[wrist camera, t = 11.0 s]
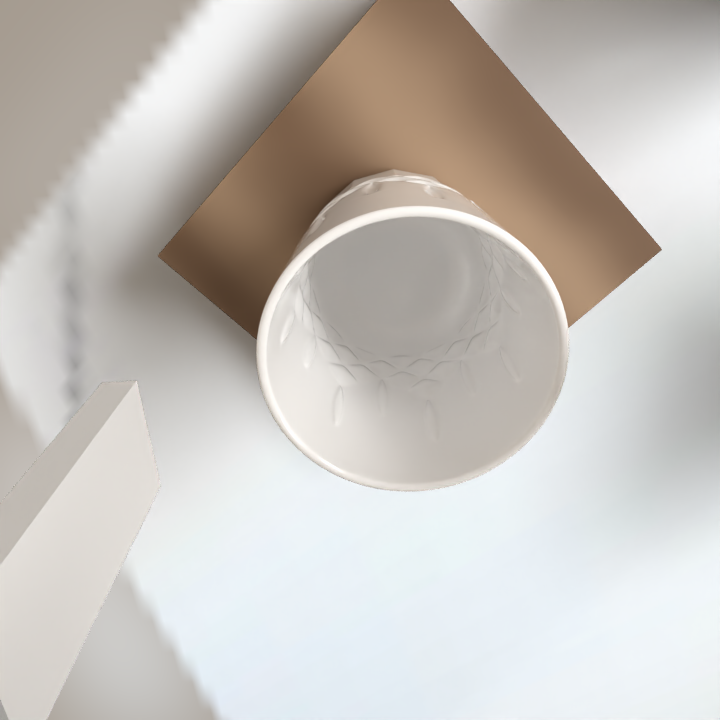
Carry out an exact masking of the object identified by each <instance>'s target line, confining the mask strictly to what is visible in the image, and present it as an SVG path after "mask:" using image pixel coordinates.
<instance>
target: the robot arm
mask: <svg viewBox="0 0 720 720" xmlns="http://www.w3.org/2000/svg"><path fill="white" fill-rule="evenodd" d="M160 487H161V484H160V479H159V475H158V470H157V466H156V462H155V457H154V453H153V449H152V444H151V440H150V436H149V431H148V427H147V423H146V418H145V414H144V410H143V405H142V401H141V397H140V392H139V388H138V384H137V380H135V381H118V382H102V383H101V384H100V386H99V387H98V388H97V389H96V390H95V391H94V393H93V394H92V395H91V396H90V397H89V399H88V400H87V401H86V402H85V403H84V404H83V406H82V407H81V408H80V409H79V410H78V412H77V413H76V414H75V415H74V416H73V417H72V419H71V420H70V421H69V422H68V423H67V425H66V426H65V427H64V428H63V429H62V430H61V432H60V433H59V434H58V435H57V436H56V438H55V439H54V440H53V441H52V442H51V443H50V445H49V446H48V447H47V448H46V449H45V451H44V452H43V453H42V454H41V455H40V456H39V458H38V459H37V460H36V461H35V462H34V464H33V465H32V466H31V467H30V468H29V469H28V471H27V472H26V473H25V474H24V475H23V477H22V478H21V479H20V480H19V481H18V482H17V484H16V485H15V486H14V487H13V488H12V490H11V491H10V492H9V493H8V494H7V496H6V497H5V498H4V499H3V500H2V501H1V503H0V720H47V718H48V716H49V714H50V712H51V710H52V707H53V706H54V704H55V702H56V700H57V697H58V695H59V693H60V691H61V689H62V687H63V685H64V683H65V681H66V679H67V677H68V675H69V673H70V671H71V669H72V667H73V665H74V663H75V661H76V659H77V657H78V655H79V653H80V651H81V648H82V646H83V644H84V642H85V640H86V638H87V636H88V634H89V632H90V630H91V628H92V626H93V624H94V622H95V620H96V617H97V616H98V614H99V612H100V610H101V608H102V605H103V604H104V602H105V599H106V597H107V595H108V593H109V591H110V589H111V587H112V585H113V583H114V581H115V579H116V577H117V575H118V573H119V571H120V569H121V567H122V565H123V563H124V561H125V559H126V557H127V555H128V552H129V550H130V548H131V546H132V544H133V542H134V540H135V538H136V536H137V534H138V532H139V530H140V528H141V526H142V524H143V522H144V520H145V518H146V516H147V514H148V512H149V510H150V508H151V505H152V503H153V501H154V499H155V497H156V495H157V493H158V491H159V489H160Z"/></svg>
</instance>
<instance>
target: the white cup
mask: <svg viewBox="0 0 720 720" xmlns="http://www.w3.org/2000/svg"><path fill="white" fill-rule="evenodd" d="M568 357H569V332H568V324H567V318H566V314H565V310H564V307H563V304H562V301H561V298H560V295H559V293H558V291H557V289H556V287H555V285H554V283H553V281H552V279H551V277H550V276H549V274H548V273H547V271H546V270H545V268H544V267H543V265H542V264H541V263H540V262H539V260H538V259H537V258H536V257H535V256H534V255H533V254H532V253H531V252H530V250H529V249H527V248H526V247H525V246H524V245H523V244H522V243H521V242H520V241H518V240H517V239H516V238H515V237H514V236H512V235H511V234H510V233H509V232H508V231H506V230H505V229H504V228H503V227H502V226H501V225H500V224H498V223H497V222H496V221H495V220H494V219H493V218H492V217H490V216H489V215H488V214H487V213H486V212H485V211H483V210H482V209H481V208H480V207H479V206H477V205H476V204H475V203H474V202H473V201H471V200H470V199H468V198H467V197H465V196H464V195H462V194H461V193H459V192H458V191H456V190H454V189H453V188H451V187H449V186H446V185H444V184H442V183H441V182H440V181H439V180H437V179H436V178H435V177H433V176H428V175H423V174H417V173H412V172H407V171H401V170H396V169H391V170H388V171H384V172H381V173H377V174H374V175H370V176H367V177H363V178H360V179H356V180H353V181H352V182H351V183H350V184H349V185H348V186H347V187H346V188H345V189H343V190H342V191H341V192H340V193H339V194H338V195H337V196H336V197H335V198H333V199H332V200H331V201H330V202H329V203H328V204H327V205H326V206H325V207H324V208H323V209H322V211H321V212H320V213H319V215H318V216H317V217H316V218H315V220H314V221H313V222H312V224H311V225H310V227H309V229H308V230H307V231H306V232H305V234H304V235H303V237H302V239H301V240H300V242H299V244H298V245H297V247H296V249H295V251H294V253H293V254H292V256H291V258H290V260H289V261H288V263H287V265H286V267H285V268H284V270H283V272H282V274H281V275H280V277H279V279H278V280H277V282H276V284H275V285H274V287H273V289H272V291H271V293H270V295H269V297H268V299H267V302H266V304H265V307H264V310H263V313H262V316H261V320H260V324H259V329H258V335H257V345H256V361H257V371H258V377H259V382H260V386H261V389H262V393H263V396H264V399H265V401H266V404H267V406H268V408H269V410H270V412H271V414H272V416H273V418H274V419H275V421H276V423H277V424H278V426H279V427H280V429H281V430H282V431H283V433H284V434H285V435H286V437H287V438H288V439H289V440H290V441H291V442H292V443H293V444H294V445H295V446H296V447H297V448H298V449H299V450H300V451H301V452H302V453H303V454H304V455H305V456H307V457H308V458H309V459H310V460H312V461H313V462H315V463H316V464H317V465H319V466H320V467H322V468H324V469H325V470H327V471H329V472H331V473H333V474H335V475H337V476H339V477H341V478H343V479H346V480H348V481H351V482H354V483H357V484H360V485H363V486H367V487H372V488H376V489H382V490H390V491H426V490H434V489H440V488H445V487H449V486H453V485H456V484H460V483H463V482H466V481H468V480H471V479H474V478H476V477H478V476H480V475H482V474H485V473H487V472H488V471H490V470H492V469H494V468H495V467H497V466H499V465H500V464H502V463H503V462H505V461H506V460H508V459H509V458H510V457H512V456H513V455H514V454H515V453H517V452H518V451H519V450H520V449H521V448H522V447H523V446H524V445H526V444H527V443H528V441H529V440H530V439H531V438H532V437H533V436H534V435H535V434H536V433H537V431H538V430H539V429H540V427H541V426H542V425H543V423H544V422H545V420H546V419H547V417H548V416H549V414H550V412H551V411H552V409H553V407H554V405H555V403H556V401H557V399H558V397H559V394H560V392H561V389H562V386H563V383H564V379H565V375H566V371H567V365H568Z"/></svg>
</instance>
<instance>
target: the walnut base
mask: <svg viewBox="0 0 720 720" xmlns="http://www.w3.org/2000/svg"><path fill="white" fill-rule="evenodd" d="M391 169H396V170H401V171H407V172H412V173H417V174H423V175H428V176H433V177H435V178H436V179H437V180H439V181H440V182H441V183H442V184H444V185H446V186H449V187H451V188H453V189H454V190H456V191H458V192H459V193H461V194H462V195H464V196H465V197H467V198H468V199H470V200H471V201H473V202H474V203H475V204H476V205H477V206H479V207H480V208H481V209H482V210H483V211H485V212H486V213H487V214H488V215H489V216H490V217H492V218H493V219H494V220H495V221H496V222H497V223H498V224H500V225H501V226H502V227H503V228H504V229H505V230H506V231H508V232H509V233H510V234H511V235H512V236H514V237H515V238H516V239H517V240H518V241H520V242H521V243H522V244H523V245H524V246H525V247H526V248H527V249H529V250H530V252H531V253H532V254H533V255H534V256H535V257H536V258H537V259H538V260H539V262H540V263H541V264H542V265H543V267H544V268H545V270H546V271H547V273H548V274H549V276H550V277H551V279H552V281H553V283H554V285H555V287H556V289H557V291H558V293H559V295H560V298H561V301H562V304H563V307H564V310H565V314H566V318H567V324H568V328H569V327H570V326H571V325H572V324H574V323H575V322H576V321H577V320H578V319H580V318H581V317H582V316H583V315H584V314H586V313H587V312H588V311H589V310H590V309H592V308H593V307H594V306H595V305H596V304H598V303H599V302H600V301H601V300H602V299H603V298H605V297H606V296H607V295H608V294H609V293H611V292H612V291H613V290H614V289H615V288H617V287H618V286H619V285H620V284H621V283H623V282H624V281H625V280H626V279H627V278H629V277H630V276H631V275H632V274H633V273H635V272H636V271H637V270H638V269H639V268H641V267H642V266H643V265H644V264H645V263H647V262H648V261H649V260H650V259H651V258H653V257H654V256H655V255H656V254H657V253H659V252H660V251H661V250H662V249H661V248H660V246H659V245H658V244H657V243H656V242H655V241H654V239H653V238H652V237H651V236H650V235H649V234H648V232H647V231H646V230H645V229H644V228H643V226H642V225H641V224H640V223H639V222H638V221H637V219H636V218H635V217H634V216H633V215H632V214H631V212H630V211H629V210H628V209H627V208H626V207H625V205H624V204H623V203H622V202H621V201H620V200H619V198H618V197H617V196H616V195H615V194H614V192H613V191H612V190H611V189H610V188H609V187H608V185H607V184H606V183H605V182H604V181H603V180H602V178H601V177H600V176H599V175H598V174H597V173H596V171H595V170H594V169H593V168H592V167H591V165H590V164H589V163H588V162H587V161H586V160H585V158H584V157H583V156H582V155H581V154H580V153H579V151H578V150H577V149H576V148H575V147H574V146H573V144H572V143H571V142H570V141H569V140H568V138H567V137H566V136H565V135H564V134H563V133H562V131H561V130H560V129H559V128H558V127H557V126H556V124H555V123H554V122H553V121H552V120H551V119H550V117H549V116H548V115H547V114H546V113H545V111H544V110H543V109H542V108H541V107H540V106H539V104H538V103H537V102H536V101H535V100H534V99H533V97H532V96H531V95H530V94H529V93H528V92H527V90H526V89H525V88H524V87H523V86H522V84H521V83H520V82H519V81H518V80H517V79H516V77H515V76H514V75H513V74H512V73H511V72H510V70H509V69H508V68H507V67H506V66H505V65H504V63H503V62H502V61H501V60H500V59H499V57H498V56H497V55H496V54H495V53H494V52H493V50H492V49H491V48H490V47H489V46H488V45H487V43H486V42H485V41H484V40H483V39H482V38H481V36H480V35H479V34H478V33H477V32H476V30H475V29H474V28H473V27H472V26H471V25H470V23H469V22H468V21H467V20H466V19H465V18H464V16H463V15H462V14H461V13H460V12H459V11H458V9H457V8H456V7H455V6H454V5H453V4H452V2H451V1H450V0H377V1H376V2H375V3H374V4H373V6H372V7H371V8H370V9H369V10H368V11H367V13H366V14H365V15H364V16H363V17H362V18H361V20H360V21H359V22H358V23H357V24H356V25H355V26H354V28H353V29H352V30H351V31H350V32H349V33H348V35H347V36H346V37H345V38H344V39H343V40H342V42H341V43H340V44H339V45H338V46H337V47H336V49H335V50H334V51H333V52H332V53H331V54H330V56H329V57H328V58H327V59H326V60H325V61H324V63H323V64H322V65H321V66H320V67H319V68H318V70H317V71H316V72H315V73H314V74H313V75H312V77H311V78H310V79H309V80H308V81H307V82H306V83H305V85H304V86H303V87H302V88H301V89H300V90H299V92H298V93H297V94H296V95H295V96H294V97H293V99H292V100H291V101H290V102H289V103H288V104H287V106H286V107H285V108H284V109H283V110H282V111H281V113H280V114H279V115H278V116H277V117H276V118H275V120H274V121H273V122H272V123H271V124H270V125H269V127H268V128H267V129H266V130H265V131H264V132H263V134H262V135H261V136H260V137H259V138H258V139H257V140H256V142H255V143H254V144H253V145H252V146H251V147H250V149H249V150H248V151H247V152H246V153H245V154H244V156H243V157H242V158H241V159H240V160H239V161H238V163H237V164H236V165H235V166H234V167H233V168H232V170H231V171H230V172H229V173H228V174H227V175H226V177H225V178H224V179H223V180H222V181H221V182H220V184H219V185H218V186H217V187H216V188H215V189H214V191H213V192H212V193H211V194H210V195H209V196H208V198H207V199H206V200H205V201H204V202H203V203H202V204H201V206H200V207H199V208H198V209H197V210H196V211H195V213H194V214H193V215H192V216H191V217H190V218H189V220H188V221H187V222H186V223H185V224H184V225H183V227H182V228H181V229H180V230H179V231H178V232H177V234H176V235H175V236H174V237H173V238H172V239H171V241H170V242H169V243H168V244H167V245H166V246H165V248H164V249H163V250H162V251H161V252H160V253H159V255H158V257H159V258H160V259H162V260H163V261H164V262H165V263H166V264H168V265H169V266H170V267H171V268H172V269H174V270H175V271H176V272H177V273H178V274H179V275H181V276H182V277H183V278H184V279H185V280H187V281H188V282H189V283H190V284H191V285H192V286H194V287H195V288H196V289H197V290H198V291H200V292H201V293H202V294H203V295H204V296H206V297H207V298H208V299H209V300H210V301H211V302H213V303H214V304H215V305H216V306H217V307H219V308H220V309H221V310H222V311H223V312H225V313H226V314H227V315H228V316H229V317H230V318H232V319H233V320H234V321H235V322H236V323H238V324H239V325H240V326H241V327H242V328H243V329H245V330H246V331H247V332H248V333H249V334H251V335H252V336H253V337H254V338H255V339H257V335H258V329H259V324H260V320H261V316H262V313H263V310H264V307H265V304H266V302H267V299H268V297H269V295H270V293H271V291H272V289H273V287H274V285H275V284H276V282H277V280H278V279H279V277H280V275H281V274H282V272H283V270H284V268H285V267H286V265H287V263H288V261H289V260H290V258H291V256H292V254H293V253H294V251H295V249H296V247H297V245H298V244H299V242H300V240H301V239H302V237H303V235H304V234H305V232H306V231H307V230H308V229H309V227H310V225H311V224H312V222H313V221H314V220H315V218H316V217H317V216H318V215H319V213H320V212H321V211H322V209H323V208H324V207H325V206H326V205H327V204H328V203H329V202H330V201H331V200H332V199H333V198H335V197H336V196H337V195H338V194H339V193H340V192H341V191H342V190H343V189H345V188H346V187H347V186H348V185H349V184H350V183H351V182H352V181H353V180H356V179H360V178H363V177H367V176H370V175H374V174H377V173H381V172H384V171H388V170H391Z"/></svg>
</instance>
